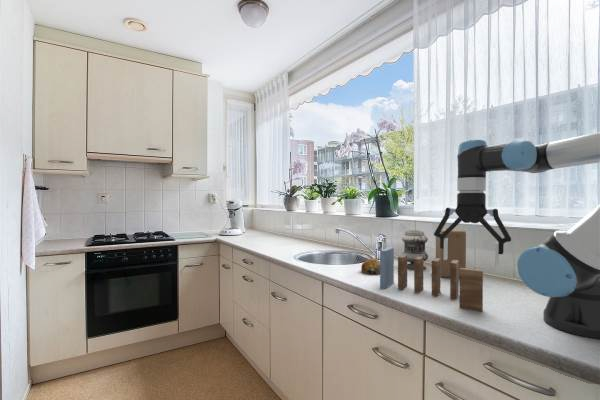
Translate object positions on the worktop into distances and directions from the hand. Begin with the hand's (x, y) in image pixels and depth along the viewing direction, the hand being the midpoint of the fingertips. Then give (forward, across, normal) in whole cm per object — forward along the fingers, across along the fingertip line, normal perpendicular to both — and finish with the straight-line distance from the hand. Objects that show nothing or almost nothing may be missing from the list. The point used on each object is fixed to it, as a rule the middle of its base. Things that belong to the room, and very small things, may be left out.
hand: (470, 262), depth 92 cm
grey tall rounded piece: (+15, +28, -47) cm, 57 cm away
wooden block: (+15, +11, -41) cm, 45 cm away
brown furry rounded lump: (+15, +41, -27) cm, 51 cm away
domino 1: (+14, +23, -10) cm, 29 cm away
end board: (+14, +29, -10) cm, 34 cm away
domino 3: (+14, +11, -10) cm, 21 cm away
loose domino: (+14, 0, 0) cm, 14 cm away
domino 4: (+14, +5, -10) cm, 18 cm away
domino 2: (+14, +17, -10) cm, 24 cm away
